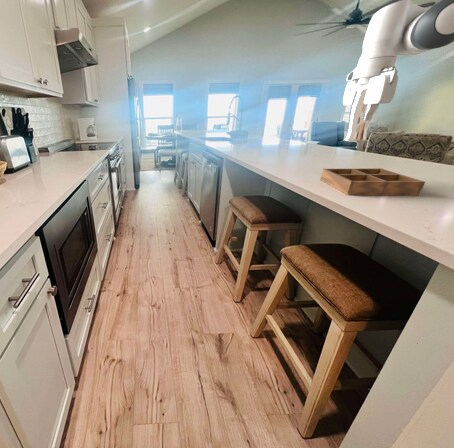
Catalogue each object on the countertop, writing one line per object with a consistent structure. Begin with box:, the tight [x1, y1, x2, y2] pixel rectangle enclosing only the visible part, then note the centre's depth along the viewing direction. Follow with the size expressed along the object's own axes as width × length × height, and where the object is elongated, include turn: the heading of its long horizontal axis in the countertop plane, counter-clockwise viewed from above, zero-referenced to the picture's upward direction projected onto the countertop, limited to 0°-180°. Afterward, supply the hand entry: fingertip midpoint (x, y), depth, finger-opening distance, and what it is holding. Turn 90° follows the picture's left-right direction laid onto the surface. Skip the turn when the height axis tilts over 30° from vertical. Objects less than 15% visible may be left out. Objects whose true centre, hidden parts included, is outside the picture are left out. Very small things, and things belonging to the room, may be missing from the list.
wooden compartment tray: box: [320, 167, 426, 197], centre depth 82 cm, size 19×19×4 cm
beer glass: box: [343, 89, 377, 142], centre depth 78 cm, size 7×7×15 cm
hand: (359, 120), depth 79 cm, fingers closed on beer glass, 6 cm apart
